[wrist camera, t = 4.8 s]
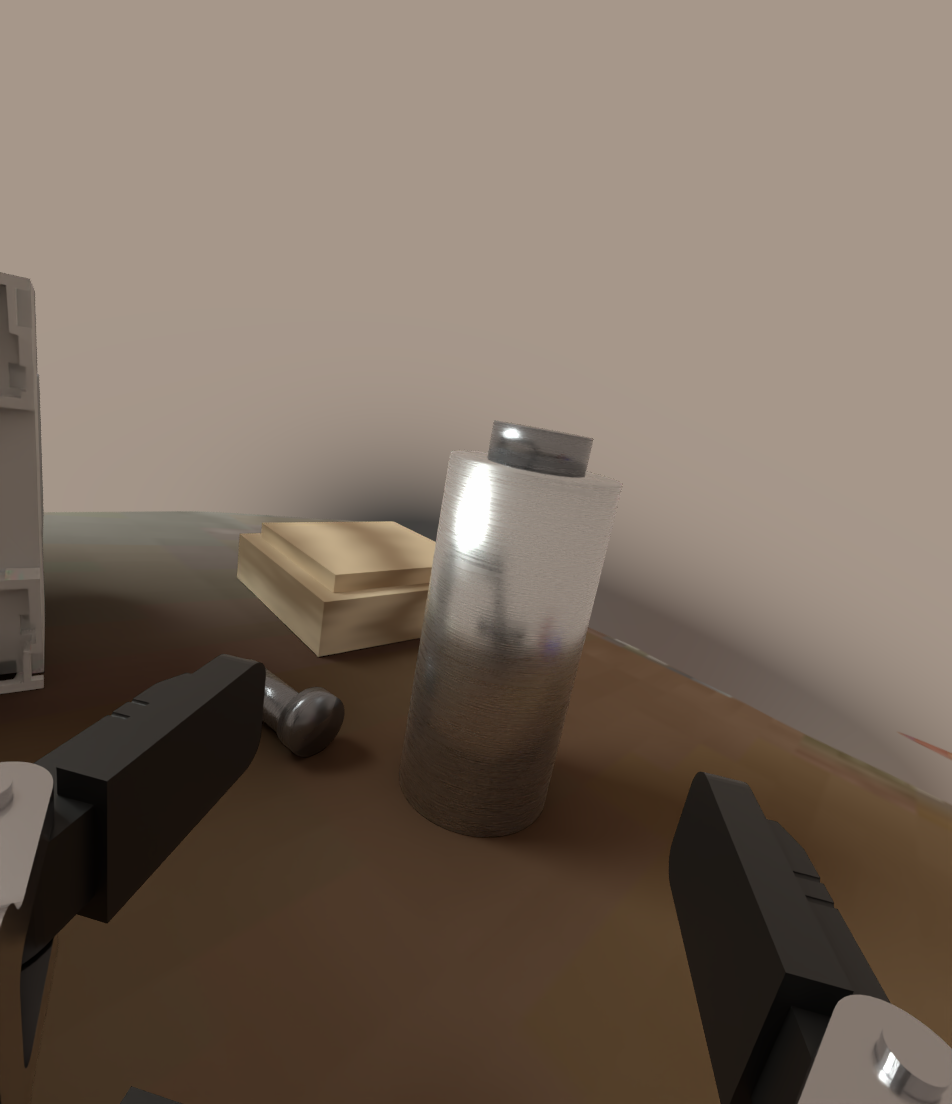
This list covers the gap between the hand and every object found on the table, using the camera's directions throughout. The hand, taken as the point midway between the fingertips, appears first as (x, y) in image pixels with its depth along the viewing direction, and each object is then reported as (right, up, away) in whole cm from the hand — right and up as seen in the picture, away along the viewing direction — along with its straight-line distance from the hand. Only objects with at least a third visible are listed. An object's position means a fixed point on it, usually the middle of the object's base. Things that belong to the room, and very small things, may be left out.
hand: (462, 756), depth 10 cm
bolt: (-8, -3, +12) cm, 15 cm away
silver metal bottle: (0, -5, +11) cm, 12 cm away
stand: (-7, 0, +26) cm, 27 cm away
